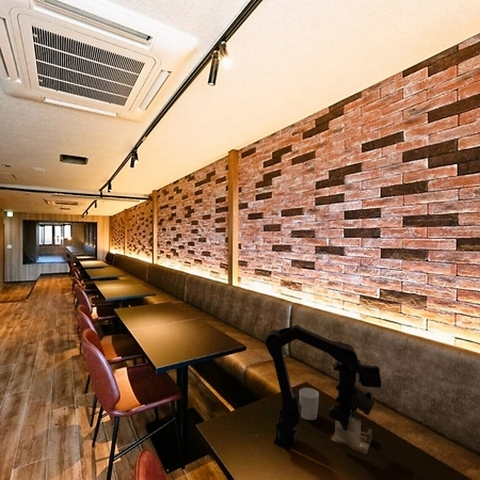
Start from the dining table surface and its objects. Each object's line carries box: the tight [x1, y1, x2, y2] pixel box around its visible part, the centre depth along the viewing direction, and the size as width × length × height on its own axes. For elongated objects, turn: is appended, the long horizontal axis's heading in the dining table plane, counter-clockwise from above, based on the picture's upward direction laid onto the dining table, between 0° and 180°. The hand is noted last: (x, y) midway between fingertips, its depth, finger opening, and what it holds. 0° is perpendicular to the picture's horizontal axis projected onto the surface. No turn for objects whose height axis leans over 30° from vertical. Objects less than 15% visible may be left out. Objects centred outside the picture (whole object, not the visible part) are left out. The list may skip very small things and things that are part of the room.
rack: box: [330, 428, 373, 455], centre depth 104 cm, size 12×10×4 cm
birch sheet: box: [334, 416, 362, 447], centre depth 97 cm, size 8×2×8 cm, turn 54°
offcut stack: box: [335, 437, 363, 452], centre depth 101 cm, size 9×3×2 cm, turn 54°
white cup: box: [298, 387, 320, 421], centre depth 118 cm, size 8×8×10 cm
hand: (345, 428), depth 98 cm, fingers closed on birch sheet, 1 cm apart
